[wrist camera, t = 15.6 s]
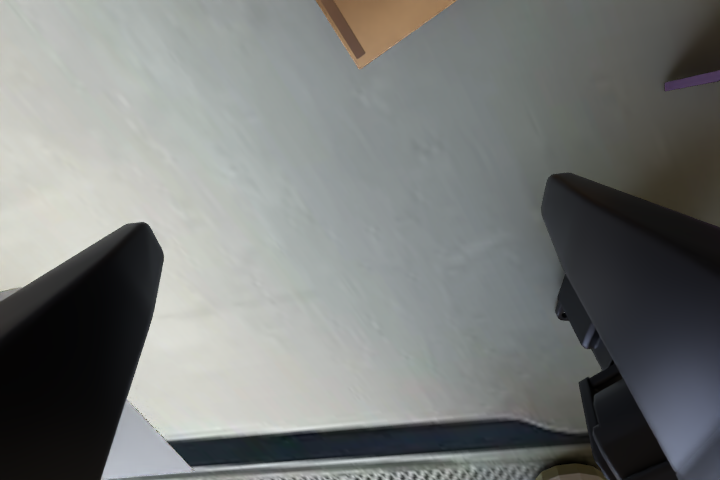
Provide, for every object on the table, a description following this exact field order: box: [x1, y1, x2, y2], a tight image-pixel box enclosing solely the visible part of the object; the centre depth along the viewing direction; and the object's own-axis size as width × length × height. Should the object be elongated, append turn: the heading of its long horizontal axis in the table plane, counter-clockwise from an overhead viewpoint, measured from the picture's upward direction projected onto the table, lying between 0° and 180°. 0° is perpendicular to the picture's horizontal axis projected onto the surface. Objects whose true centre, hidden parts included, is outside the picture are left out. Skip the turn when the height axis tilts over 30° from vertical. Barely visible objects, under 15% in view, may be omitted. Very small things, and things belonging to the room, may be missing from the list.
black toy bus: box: [0, 287, 194, 480], centre depth 35 cm, size 14×25×4 cm, turn 17°
